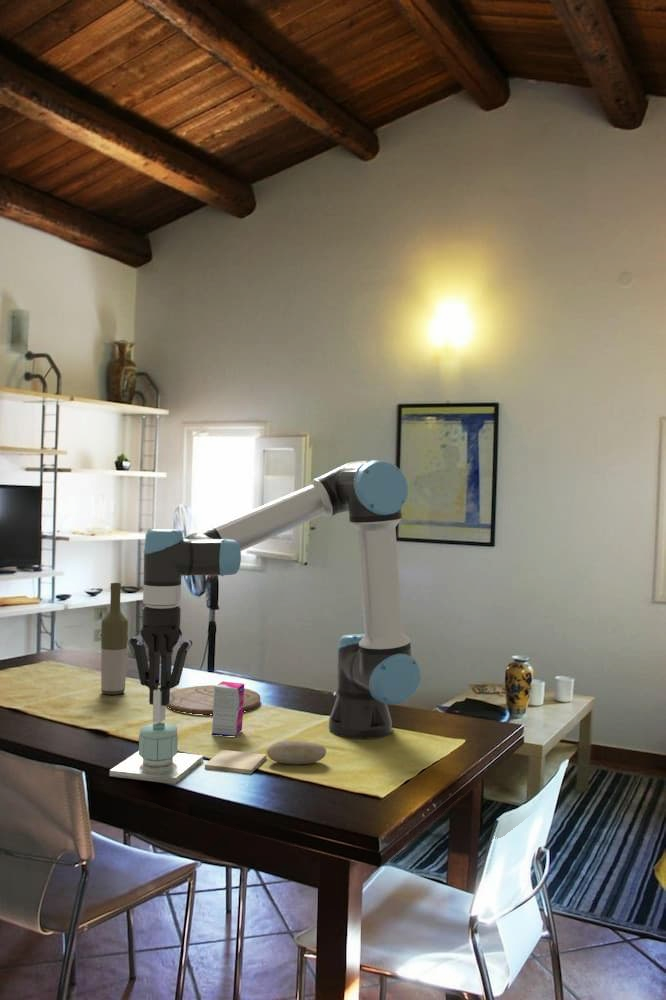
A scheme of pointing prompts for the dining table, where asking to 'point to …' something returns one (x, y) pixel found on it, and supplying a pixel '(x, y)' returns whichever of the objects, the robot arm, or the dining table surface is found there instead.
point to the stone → (296, 752)
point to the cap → (158, 741)
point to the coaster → (235, 761)
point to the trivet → (205, 700)
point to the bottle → (114, 646)
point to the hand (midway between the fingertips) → (158, 720)
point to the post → (157, 768)
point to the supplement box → (228, 708)
